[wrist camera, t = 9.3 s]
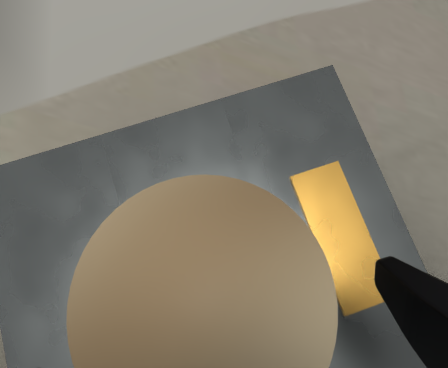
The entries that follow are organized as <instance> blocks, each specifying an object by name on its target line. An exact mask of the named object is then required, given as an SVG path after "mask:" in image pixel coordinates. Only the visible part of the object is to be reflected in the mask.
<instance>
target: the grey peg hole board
mask: <svg viewBox="0 0 448 368" xmlns="http://www.w3.org/2000/svg"><path fill="white" fill-rule="evenodd" d="M205 174H206V175H219V176H226V177H231V178H236V179H239V180H242V181H245V182H248V183H251V184H254V185H256V186H258V187H260V188H262V189H264V190H266V191H268V192H270V193H271V194H273V195H274V196H276V197H277V198H279V199H280V200H282V201H283V202H284V203H285V204H287V205H288V206H289V207H290V208H291V209H293V210H294V211H295V212H296V213H297V214H298V216H299V217H300V218H301V219H302V220H303V221H304V222H305V223H306V224H307V226H308V227H309V229H310V230H311V231H312V233H313V234H314V236H315V237H316V239H317V241H318V242H319V244H320V246H321V248H322V250H323V252H324V254H325V256H326V259H327V261H328V264H329V266H330V269H331V272H332V276H333V280H334V284H335V289H336V296H337V304H338V327H337V335H336V344H335V348H334V352H333V356H332V360H331V363H330V366H329V368H426V366H425V365H424V363H423V362H422V361H421V359H420V358H419V356H418V355H417V354H416V352H415V351H414V350H413V348H412V347H411V345H410V344H409V342H408V341H407V339H406V338H405V336H404V334H403V333H402V331H401V329H400V328H399V326H398V324H397V322H396V321H395V319H394V317H393V316H392V314H391V312H390V310H389V309H388V307H387V305H386V304H385V302H384V300H383V298H382V297H381V295H380V293H379V291H378V290H377V288H376V285H375V281H374V276H375V262H376V261H377V260H378V259H381V258H384V257H387V256H392V257H395V258H397V259H399V260H401V261H403V262H405V263H407V264H409V265H411V266H413V267H415V268H417V269H419V270H422V271H424V272H426V273H427V271H426V269H425V267H424V265H423V263H422V260H421V258H420V256H419V254H418V252H417V249H416V247H415V245H414V243H413V241H412V238H411V236H410V234H409V232H408V230H407V227H406V225H405V223H404V221H403V219H402V216H401V214H400V212H399V210H398V208H397V205H396V203H395V201H394V199H393V197H392V194H391V192H390V190H389V188H388V186H387V184H386V181H385V179H384V177H383V175H382V173H381V170H380V168H379V166H378V164H377V162H376V159H375V157H374V155H373V153H372V151H371V148H370V146H369V144H368V142H367V140H366V137H365V135H364V133H363V131H362V129H361V126H360V124H359V122H358V120H357V118H356V115H355V113H354V111H353V109H352V107H351V104H350V102H349V100H348V98H347V96H346V93H345V91H344V89H343V87H342V85H341V83H340V80H339V78H338V76H337V74H336V72H335V69H334V67H333V65H331V66H328V67H324V68H321V69H318V70H314V71H311V72H308V73H304V74H301V75H298V76H295V77H291V78H288V79H285V80H281V81H278V82H275V83H271V84H268V85H265V86H261V87H258V88H255V89H251V90H248V91H245V92H241V93H238V94H235V95H231V96H228V97H225V98H221V99H218V100H215V101H212V102H208V103H205V104H202V105H198V106H195V107H192V108H188V109H185V110H182V111H178V112H175V113H172V114H168V115H165V116H162V117H158V118H155V119H152V120H148V121H145V122H142V123H138V124H135V125H132V126H129V127H125V128H122V129H119V130H115V131H112V132H109V133H105V134H102V135H99V136H95V137H92V138H89V139H85V140H82V141H79V142H75V143H72V144H69V145H65V146H62V147H59V148H55V149H52V150H49V151H46V152H42V153H39V154H36V155H32V156H29V157H26V158H22V159H19V160H16V161H12V162H9V163H6V164H2V165H0V328H1V334H2V339H3V345H4V351H5V356H6V362H7V368H38V367H39V368H74V366H73V363H72V359H71V354H70V350H69V345H68V337H67V325H66V321H67V303H68V297H69V291H70V286H71V282H72V279H73V275H74V272H75V269H76V266H77V264H78V262H79V259H80V257H81V255H82V252H83V251H84V249H85V247H86V245H87V244H88V242H89V240H90V239H91V237H92V235H93V234H94V233H95V232H96V230H97V229H98V228H99V226H100V225H101V224H102V222H103V221H104V220H105V219H106V218H107V217H108V216H109V215H110V214H111V213H112V212H113V211H114V210H115V209H116V208H118V207H119V206H120V205H121V204H123V203H124V202H125V201H126V200H128V199H129V198H131V197H132V196H134V195H135V194H137V193H139V192H140V191H142V190H144V189H146V188H148V187H150V186H153V185H155V184H157V183H160V182H163V181H166V180H169V179H173V178H178V177H183V176H189V175H205Z"/></svg>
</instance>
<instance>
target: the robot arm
mask: <svg viewBox="0 0 448 368" xmlns="http://www.w3.org/2000/svg"><path fill="white" fill-rule="evenodd" d="M374 281H375V285H376V288H377V290H378V291H379V293H380V295H381V297H382V298H383V300H384V302H385V304H386V305H387V307H388V309H389V310H390V312H391V314H392V316H393V317H394V319H395V321H396V322H397V324H398V326H399V328H400V329H401V331H402V333H403V334H404V336H405V338H406V339H407V341H408V342H409V344H410V345H411V347H412V348H413V350H414V351H415V352H416V354H417V355H418V356H419V358H420V359H421V361H422V362H423V363H424V365H425V366H426V368H448V283H446V282H444V281H442V280H440V279H438V278H436V277H434V276H432V275H430V274H428V273H426V272H424V271H422V270H419V269H417V268H415V267H413V266H411V265H409V264H407V263H405V262H403V261H401V260H399V259H397V258H395V257H392V256H387V257H384V258H381V259H378V260H377V261H376V262H375V276H374ZM38 368H39V367H38Z"/></svg>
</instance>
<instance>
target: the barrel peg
mask: <svg viewBox="0 0 448 368" xmlns="http://www.w3.org/2000/svg"><path fill="white" fill-rule="evenodd" d="M66 325H67V337H68V345H69V350H70V354H71V359H72V363H73V366H74V368H329V366H330V363H331V360H332V356H333V352H334V348H335V344H336V335H337V327H338V304H337V296H336V289H335V284H334V280H333V276H332V272H331V269H330V266H329V264H328V261H327V259H326V256H325V254H324V252H323V250H322V248H321V246H320V244H319V242H318V241H317V239H316V237H315V236H314V234H313V233H312V231H311V230H310V229H309V227H308V226H307V224H306V223H305V222H304V221H303V220H302V219H301V218H300V217H299V216H298V214H297V213H296V212H295V211H294V210H293V209H291V208H290V207H289V206H288V205H287V204H285V203H284V202H283V201H282V200H280V199H279V198H277V197H276V196H274V195H273V194H271V193H270V192H268V191H266V190H264V189H262V188H260V187H258V186H256V185H254V184H251V183H248V182H245V181H242V180H239V179H236V178H231V177H226V176H219V175H206V174H205V175H189V176H183V177H178V178H173V179H169V180H166V181H163V182H160V183H157V184H155V185H153V186H150V187H148V188H146V189H144V190H142V191H140V192H139V193H137V194H135V195H134V196H132V197H131V198H129V199H128V200H126V201H125V202H124V203H123V204H121V205H120V206H119V207H118V208H116V209H115V210H114V211H113V212H112V213H111V214H110V215H109V216H108V217H107V218H106V219H105V220H104V221H103V222H102V224H101V225H100V226H99V228H98V229H97V230H96V232H95V233H94V234H93V235H92V237H91V239H90V240H89V242H88V244H87V245H86V247H85V249H84V251H83V252H82V255H81V257H80V259H79V262H78V264H77V266H76V269H75V272H74V275H73V279H72V282H71V286H70V291H69V297H68V303H67V321H66Z"/></svg>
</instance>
